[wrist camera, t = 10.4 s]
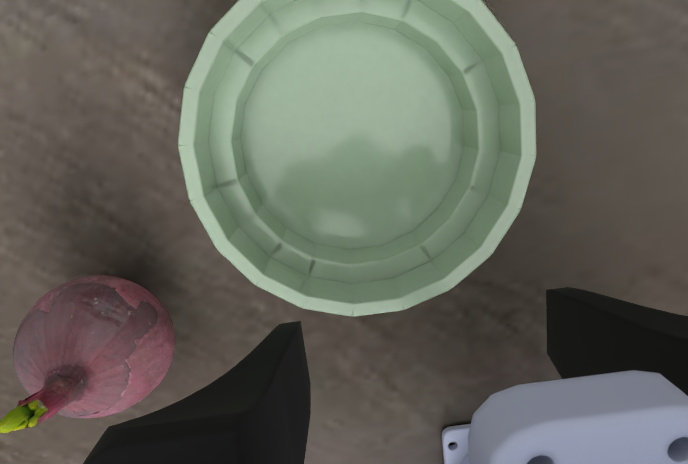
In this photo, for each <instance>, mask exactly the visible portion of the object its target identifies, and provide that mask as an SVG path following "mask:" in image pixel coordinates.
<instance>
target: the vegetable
mask: <svg viewBox="0 0 688 464" xmlns="http://www.w3.org/2000/svg"><path fill="white" fill-rule="evenodd" d="M174 347H175V335H174V329H173V323H172V321H171V319H170V316H169V314H168V312H167V310H166V309H165V307H164V306H163V304H162V303H161V302H160V301H159V300H158V299H157V298H156V297H155V296H154V295H153V294H152V293H151V292H149V291H148V290H147V289H145V288H143V287H142V286H140V285H138V284H136V283H134V282H131V281H129V280H126V279H122V278H119V277H115V276H108V275H90V276H85V277H81V278H78V279H74V280H72V281H69V282H66V283H64V284H62V285H60V286H58V287H56V288H54V289H53V290H51V291H50V292H48V293H46V294H45V295H44V296H43V297H41V298H40V299H39V300H38V301H37V303H36V304H35V305H34V306H33V307H32V309H31V310H30V311H29V312H28V314H27V315H26V317H25V318H24V319H23V320H22V323H21V324H20V327H19V329H18V332H17V334H16V338H15V342H14V348H13V356H14V367H15V370H16V374H17V376H18V378H19V380H20V382H21V384H22V385H23V386H24V387H25V389H26V390H27V391H28V393H29V394H30V395H31V396H30V397H28V398H26V399H25V400H23V401H21V400H20V401H19V402H18V403H19V405H18V406H17V407H16V408H15V409H13V410H12V411H10V412H9V413H8V414H7V415H6V416H5V417H4V418H3V419H2V420H1V421H0V433H8V432H9V431H11V430H13V431H14V430H18V429H20V430H21V429H25V428H30V427H33V426H35V425H37V424H39V423H40V422H42V421H44V420H46V419H48V418H50V417H52V416H54V415H55V414H56V413H58V414H61V415H64V416H67V417H74V418H95V417H103V416H107V415H111V414H114V413H118V412H120V411H123V410H125V409H127V408H129V407H131V406H133V405H134V404H136V403H138V402H139V401H141V400H142V399H144V398H145V397H146V396H147V395H148V394H149V393H150V392H152V391H153V390H154V389H155V388H156V387H157V386H158V385H159V383H160V382H161V381H162V379H163V378H164V376H165V374H166V372H167V371H168V369H169V367H170V365H171V362H172V359H173V355H174Z"/></svg>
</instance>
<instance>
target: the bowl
mask: <svg viewBox="0 0 688 464" xmlns="http://www.w3.org/2000/svg"><path fill="white" fill-rule="evenodd" d="M534 99H535V97H534V94H533V92H532V89H531V86H530V83H529V80H528V77H527V74H526V71H525V68H524V65H523V63H522V60H521V57H520V54H519V51H518V48H517V46H516V45H515V42H514V41H513V40H512V39H511V37H510V36H509V35H508V33H507V32H506V31H505V29H504V28H503V27H502V26H501V24H500V23H499V22H498V20H497V19H496V18H495V17H494V15H493V14H492V13H491V11H490V10H489V9H488V8H487V6H486V5H485V4H484V2H483V1H482V0H238V1H237V2H236V3H235V4H234V5H233V6H232V7H231V9H230V10H229V11H228V12H227V13H226V14H225V15H224V16H223V17H222V18H221V19H220V20H219V21H218V22H217V23H216V24H215V25H214V26H213V28H212V29H211V30H210V32H209V33H208V35H207V37H206V39H205V41H204V43H203V46H202V48H201V50H200V52H199V54H198V56H197V59H196V61H195V63H194V65H193V67H192V70H191V72H190V74H189V76H188V78H187V81H186V83H185V87H184V90H183V99H182V108H181V118H180V127H179V136H178V144H179V145H178V150H179V154H180V159H181V164H182V169H183V174H184V178H185V183H186V188H187V193H188V198H189V200H190V203H191V205H192V206H193V208H194V210H195V212H196V214H197V215H198V217H199V219H200V221H201V222H202V224H203V226H204V228H205V230H206V231H207V233H208V235H209V237H210V238H211V240H212V242H213V244H214V246H215V247H216V248H217V250H218V251H219V252H220V253H221V254H222V255H223V256H224V257H225V258H227V259H228V260H229V261H230V262H231V263H232V264H233V265H234V266H235V267H236V268H237V269H238V270H239V271H240V272H241V273H242V274H243V275H245V276H246V277H247V278H248V279H249V280H250V281H251V282H252V283H253V284H254V285H255V284H256V286H258V287H260V288H262V289H264V290H266V291H268V292H270V293H272V294H274V295H276V296H278V297H280V298H282V299H284V300H286V301H288V302H290V303H292V304H294V305H296V306H298V307H300V308H303V309H309V310H315V311H321V312H327V313H333V314H339V315H345V316H362V315H370V314H378V313H386V312H394V311H401V310H403V309H404V310H405V309H407V308H410V307H412V306H414V305H417V304H419V303H421V302H423V301H426V300H428V299H430V298H432V297H435V296H437V295H439V294H442V293H444V292H446V291H448V290H450V289H452V288H453V287H455V286H456V285H457V284H458V283H459V282H460V281H462V280H463V279H464V278H465V277H466V276H468V275H469V274H470V273H471V272H472V271H473V270H475V269H476V268H477V267H478V266H479V265H480V264H482V263H483V262H484V261H485V260H486V259H488V258H489V257H490V256H491V255H492V254H493V252H494V250H495V249H496V247H497V246H498V244H499V243H500V241H501V240H502V238H503V237H504V235H505V234H506V232H507V231H508V229H509V227H510V226H511V224H512V223H513V221H514V220H515V218H516V217H517V215H518V214H519V212H520V209H521V208H522V204H523V201H524V197H525V194H526V191H527V187H528V184H529V180H530V177H531V173H532V170H533V167H534V163H535V160H536V157H535V156H536V113H535V100H534Z"/></svg>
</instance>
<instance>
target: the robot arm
mask: <svg viewBox="0 0 688 464" xmlns="http://www.w3.org/2000/svg"><path fill="white" fill-rule="evenodd" d="M546 304H547V354H548V356H549V357H550V359H551V361H552V362H553V364H554V366H555V368H556V369H557V371H558V372H559V374H560V376H561V377H562V379H560V380H552V381H544V382H537V383H529V384H521V385H516V386H513V387H511V388H508V389H505V390H502V391H500V392H497V393H494V394H492V395H491V396H490V397H489V398H488V399H487V400H486V401H485V402H484V403H483V404H482V405H481V406H480V407H479V408H478V409H477V410H476V411H475V412H474V413H473V417H472V421H471V424H465V425H457V426H450V427H447V428H445V429H444V430H443V432H442V447H443V459H444V464H688V316H683V315H678V314H673V313H669V312H665V311H661V310H656V309H652V308H648V307H644V306H640V305H636V304H633V303H629V302H625V301H622V300H618V299H615V298H611V297H608V296H604V295H601V294H597V293H593V292H589V291H585V290H581V289H576V288H569V287H566V288H558V289H550V290H546ZM310 400H311V399H310V378H309V372H308V366H307V359H306V353H305V347H304V340H303V334H302V328H301V321H298V322H291V323H283V324H279V325H278V326H277V327H276V328H275V329H274V330H273V331H272V332H271V333H270V334H269V335H268V336H267V337H266V338H265V339H264V340H263V341H262V342H261V343H260V344H259V345H258V346H257V347H256V348H255V349H254V350H253V351H252V352H251V353H250V354H248V355H247V356H246V357H245V358H244V359H243V360H242V361H240V362H239V363H238V364H237V365H236V366H235V367H233V368H232V369H231V370H230V371H228V372H227V373H226V374H224V375H223V376H221V377H220V378H218V379H217V380H215V381H214V382H213V383H211V384H209V385H208V386H206V387H204V388H203V389H201V390H199V391H197V392H195V393H193V394H192V395H190V396H188V397H186V398H184V399H182V400H180V401H178V402H176V403H174V404H172V405H170V406H167V407H165V408H163V409H160V410H158V411H155V412H153V413H150V414H147V415H145V416H142V417H139V418H136V419H132V420H129V421H126V422H123V423H120V424H117V425H113V426H110V427H108V428H107V430H106V431H105V432H104V434H103V435H102V437H101V438H100V440H99V441H98V442H97V444H96V445H95V447H94V448H93V450H92V451H91V453H90V454H89V456H88V457H87V458H86V460H85V461H84V463H83V464H304V458H305V451H306V443H307V436H308V428H309V421H310ZM451 442H455V444H454V445H448V444H449V443H451Z"/></svg>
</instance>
